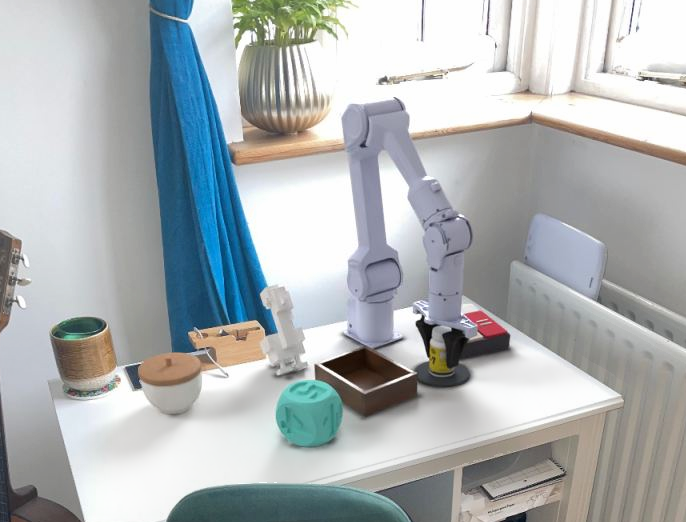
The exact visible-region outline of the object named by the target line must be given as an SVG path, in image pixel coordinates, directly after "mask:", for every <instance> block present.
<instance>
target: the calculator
mask: <svg viewBox="0 0 686 522" xmlns="http://www.w3.org/2000/svg"><path fill="white" fill-rule="evenodd" d="M461 312H462V313H463V314H464V315H465V316H466V317H467V318H468V319H469V320H470V321H471V322H473V323H474V324H476V325H478V332H477V336H475V337H472V338H470V339H469V341H468V342H467V344H466V345H465V347H464V350H463V352H462V354H461V357H460V360H463V359H467V358H471V357H477V356H482V355H485V354H486V355H487V354H490V353H494V352H499V351H503V350H508V349H509V348H510V342H511V341H510V340H511V333H509V332H508V330H507V329H505V327H503V326H502V325H500V323H498V322H496V321H495V319H493V318H491V317H490V316H489V315H488V314H486V313H485V312H484V311H483V310H481V309H479V308H478V307H477V306H476V305H474V304H473V303H471V302H470V303H465V304H462V305H461Z"/></svg>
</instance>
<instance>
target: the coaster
mask: <svg viewBox="0 0 686 522" xmlns="http://www.w3.org/2000/svg"><path fill="white" fill-rule="evenodd" d="M413 371H414V372H416V373H418V382H420V383H421V384H424V385H426V386H430V387H435V388H450V387H455V386H459V385H462V384H464V383H465V382H466V381H468V379H469V378H470V375H471V374H470V369H469V368H468V367H467V366H466V365H464V364H463V363H461V362H459V363H458V366H456V367H455V373H454V374H453V375H452V376H449V377H435V376H433V375H432V374H430V372H429V360H427V361H425V362H421V363H420V364H418V365H417V366H416V367H415V369H414V370H413Z"/></svg>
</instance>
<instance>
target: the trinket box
mask: <svg viewBox="0 0 686 522" xmlns="http://www.w3.org/2000/svg"><path fill="white" fill-rule="evenodd" d="M137 374H138V378H139V380H140V381H139V382H140V385H141V389H142V392H143V394H144V396H145V398H146V399H147V401H148V403H150V405H152V406H153V407H154V408H156V409H157V410H159V411H160V413H163V414H167V415H178V414H181V413H185V412H187V411H189V410H191V408H193V406H194V404H195V403H196V402H197V400H198V399H199V397H200V395H201V392H202V387H203V373H202V362H201V360H200V359H199V358H198V357H197V356H195V355H193V354H190V353H186V352H166V353H161V354H156V355H154V356H151V357H149V358H147V359H145V360H144V361H143V362H141V363H140V365H139V366H138V368H137Z"/></svg>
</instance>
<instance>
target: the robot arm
mask: <svg viewBox="0 0 686 522" xmlns="http://www.w3.org/2000/svg"><path fill="white" fill-rule="evenodd" d="M410 116H411V115H410V114H409V113H408V111H407V108H406V104H405V103H404V101H403V100H402V98H401V97H399V96H398V95H390V96H387V97H384V98H377V99H372V100H365V101H360V102H355V101H353V102H351V103H349V104H347V106H346V108H345V110H344V112H343V114H342V115H341V118H340V120H341V128H342V136H343V145H344V152H345V153H346V154H347V158H348V159H347V160H348V167H349V176H350V184H351V185H350V186H351V193H352V194H351V195H352V202H353V210H354V211H353V212H354V219H355V226H356V236H357V245H358V247H357V248H356V249H355V250H354V252H353V253H352V254H351V255H350V256H349V257H348V259H347V276H346V284H347V288H348V291H349V293H350V294H349V296H348V298H347V301H346V325H347V327H346V328H347V329H346V330H345V331H343V334H344V335H345V336H347V337H349V338H351V339H353V340H354V341H357V342H358V343H360V344H362V345H363V346H365V345H366V346H368V347H370V348H372V349H374V350H375V349H377V348H379V347H382V346H384V345H388V344H390V343H393V342H395V341H398V340H401V339H403V338H404V336H403V334H401V333H399V332H397V331H395V330H394V329H395V328H394V325H395V324H394V320H395V319H394V318H395V317H394V315H395V313H394V312H395V311H394V310H395V309H394V308H395V306H394V305H395V296H396V295H397V294H398V289H400V287H401V286H402V285H403V283H404V269H403V267H402V265H401V262H400V258H399V252H398V251H397V249H395V248H394V247H392V246H391V245H389V244H388V243H387V233H386V223H385V214H384V213H385V212H384V205H383V204H384V203H383V195H382V194H383V193H382V185H381V176H380V174H381V173H380V166H379V155H380V153H381V152H382V151H386V152H387V154H388V156H389V157H390V159H391V161H392V162H393V163H394V165H395V167H396V169H397V170H398V172H399V173H400V175H401V177H402V178H403V179H404V181H405V182H406V184H407V186H408V192H407V195H406V196H407V200H408V202H409V204H410V206H411V208H412V210H413V212H414V214H415V216H416V218H417V220H418V222H419V223H420V225H421V227H422V229H423V232H424V235H423V236H422V245H423V248H424V250H425V254H426V262H427V265H428V267H429V270H428V271H429V272H428V296H427V297H428V298H427V299H428V300H427V301H428V302H427V301H424V300H418V301H414V302H412V313H413V314H415V315H421V317H420V319H418V320H415V327H416V329H417V330H418V332H419V334H420V336H421V339H422V342H423V345H424V351H425V354H426V357H427V359H429V354H430V340H431V339H432V330H433V328H434V327H436V326H441V325H443V326H447V327H450V328H451V331H449V332H446V333H443V334H442V337H443V340H444V343H445V347H446V364H447V368H449V369H451V368H453V367H456V366H458V363H460V361H461V359H460V357H461V354H462V352H463V350H464V347H465V345H466V344H467V342H468V341H469V339H470V338H472V337H475V336H477V332H478V325H476V324H474V323H473V322H471V321H470V320H469V319H468V318H467V317H466V316H465V315H464V314H463V313H462V312H461V305H463V304H462V301H463V289H464V288H463V287H464V271H465V270H464V268H465V252H466V250H468V249H470V247H471V246H472V244H473V240H474V231H473V227H472V224H471V223H470V220H469V219H468V218H467V217H466V216H464V215H463V214H461V213H460V212H459V210H457V209H456V210H455V209H454V207H453V206H452V204H451V202H450V200H449V198H448V197H447V194H446V192H445V190H444V189H443V187H442V186H441V183H440V182H439V180H438V179H437V178H434V177H432V176H428V174H427V171H426V168H425V166H424V163H423V161H422V159H421V156H420V155H419V153H418V150H417V148H416V145H415V143H414V141H413V138H412V136H411V134H410V131H409V129H410V121H411V120H410V118H411V117H410Z"/></svg>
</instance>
